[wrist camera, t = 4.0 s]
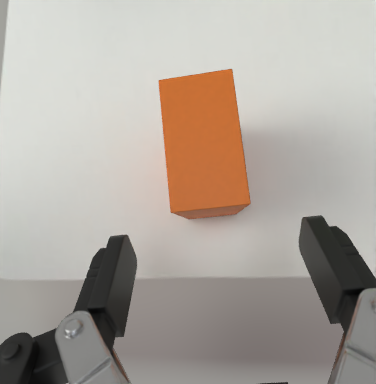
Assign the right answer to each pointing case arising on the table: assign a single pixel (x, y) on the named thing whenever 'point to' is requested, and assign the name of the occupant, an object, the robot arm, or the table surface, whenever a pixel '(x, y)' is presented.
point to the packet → (203, 145)
